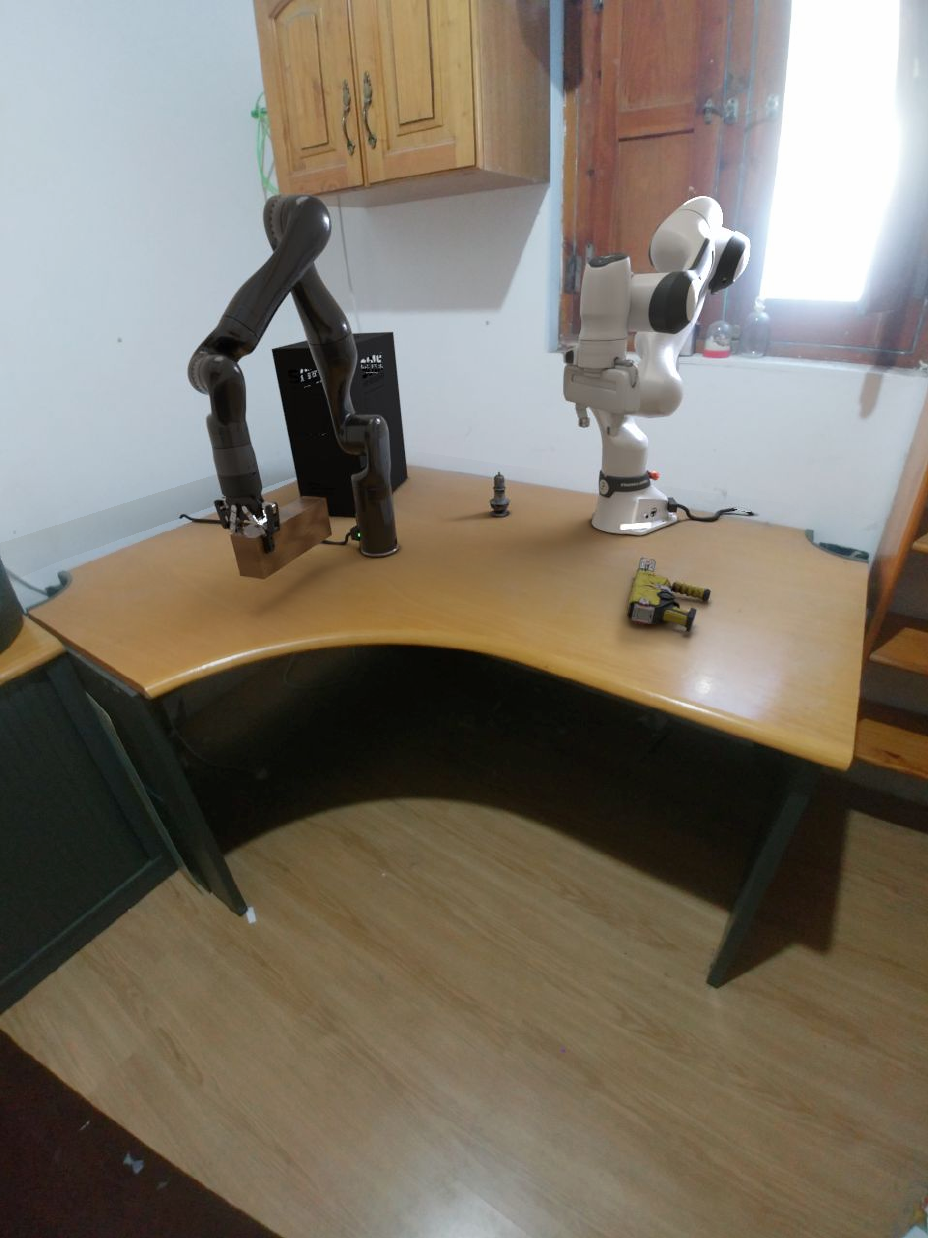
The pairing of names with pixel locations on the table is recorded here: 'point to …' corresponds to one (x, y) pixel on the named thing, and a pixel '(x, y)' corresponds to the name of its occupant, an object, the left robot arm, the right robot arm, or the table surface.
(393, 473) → the cardboard box
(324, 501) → the box
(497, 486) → the grey chess piece
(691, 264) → the right robot arm
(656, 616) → the toy gun
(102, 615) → the table surface
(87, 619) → the table surface
